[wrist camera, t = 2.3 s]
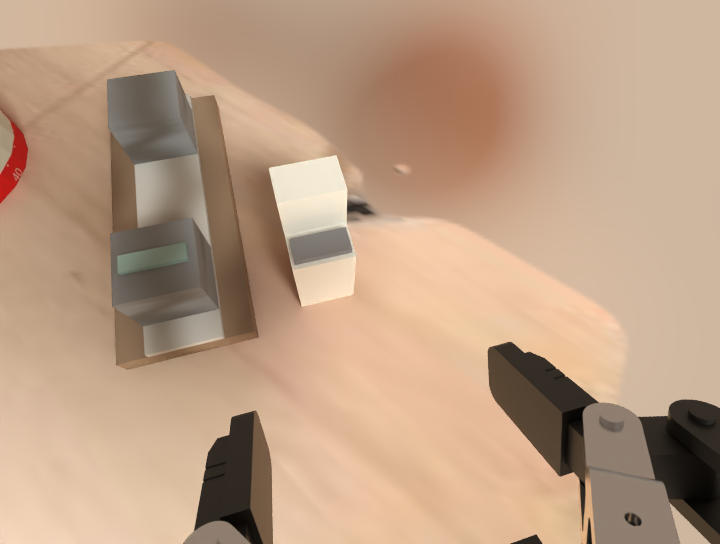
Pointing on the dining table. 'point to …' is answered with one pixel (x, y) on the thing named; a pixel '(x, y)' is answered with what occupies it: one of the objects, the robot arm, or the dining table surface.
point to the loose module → (316, 228)
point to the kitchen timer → (10, 155)
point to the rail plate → (220, 237)
